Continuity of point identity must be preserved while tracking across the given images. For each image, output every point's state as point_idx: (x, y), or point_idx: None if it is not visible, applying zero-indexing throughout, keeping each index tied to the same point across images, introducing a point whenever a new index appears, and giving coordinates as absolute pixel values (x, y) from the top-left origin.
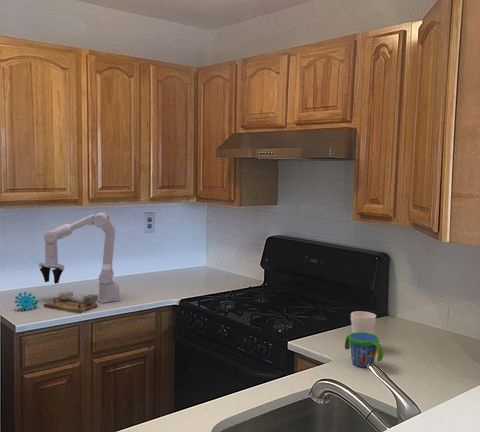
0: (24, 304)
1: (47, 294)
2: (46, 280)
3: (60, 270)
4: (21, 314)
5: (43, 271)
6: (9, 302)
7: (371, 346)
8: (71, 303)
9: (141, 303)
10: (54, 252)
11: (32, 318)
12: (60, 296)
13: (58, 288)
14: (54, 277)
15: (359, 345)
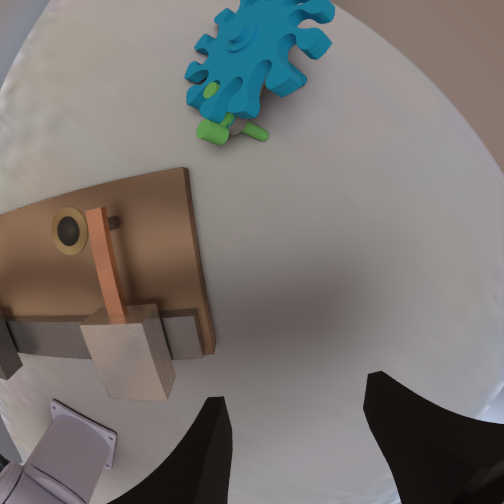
0: (229, 27)
1: (408, 375)
2: (373, 392)
3: None
4: (172, 2)
5: (453, 452)
6: (455, 135)
7: None
8: (62, 296)
9: (8, 426)
10: None
11: (74, 20)
12: (101, 289)
13: None
14: (196, 450)
15: None
